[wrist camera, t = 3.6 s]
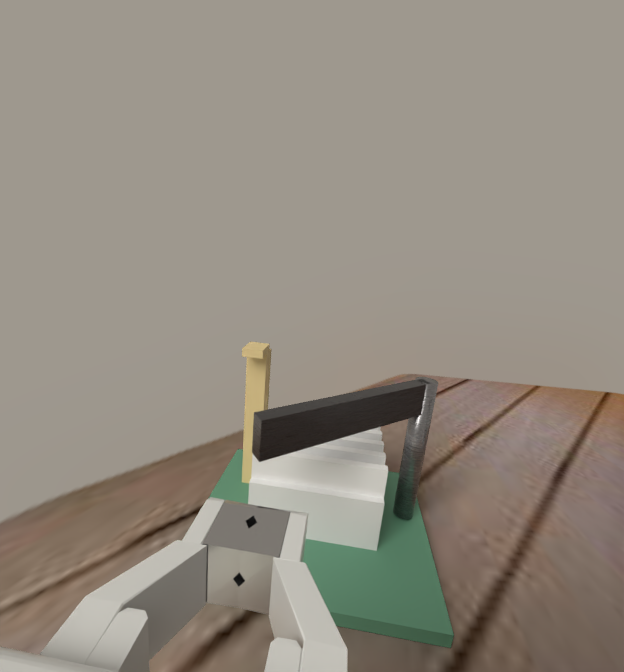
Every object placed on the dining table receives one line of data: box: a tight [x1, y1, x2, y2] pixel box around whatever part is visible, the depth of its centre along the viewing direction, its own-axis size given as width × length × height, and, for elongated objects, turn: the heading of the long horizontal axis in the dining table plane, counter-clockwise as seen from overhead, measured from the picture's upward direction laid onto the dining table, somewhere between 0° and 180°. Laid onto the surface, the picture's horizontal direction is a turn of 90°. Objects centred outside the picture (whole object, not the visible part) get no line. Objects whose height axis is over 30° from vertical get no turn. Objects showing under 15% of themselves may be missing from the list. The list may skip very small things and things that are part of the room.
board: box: [208, 342, 454, 648], centre depth 31 cm, size 22×18×17 cm
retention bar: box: [252, 377, 438, 520], centre depth 28 cm, size 18×2×14 cm, turn 123°
